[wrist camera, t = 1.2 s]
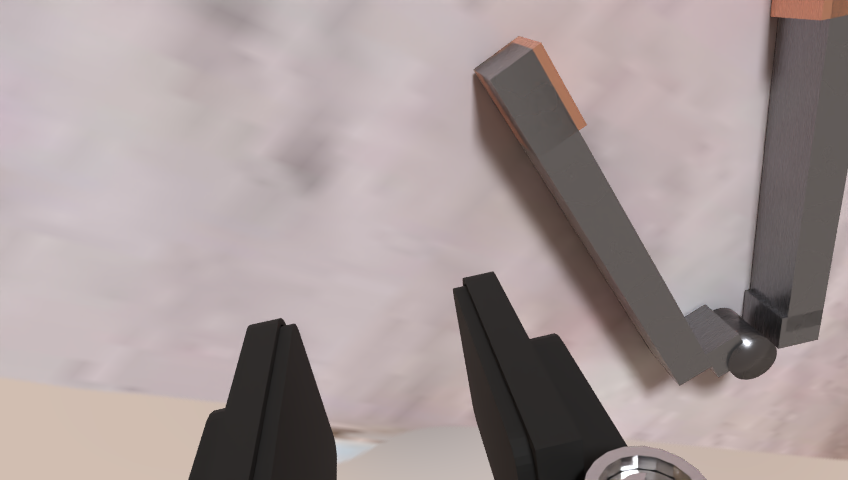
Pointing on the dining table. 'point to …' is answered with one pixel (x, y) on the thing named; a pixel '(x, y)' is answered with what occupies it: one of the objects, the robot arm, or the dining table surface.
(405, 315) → the dining table surface
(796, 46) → the arm
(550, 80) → the tongs free arm
